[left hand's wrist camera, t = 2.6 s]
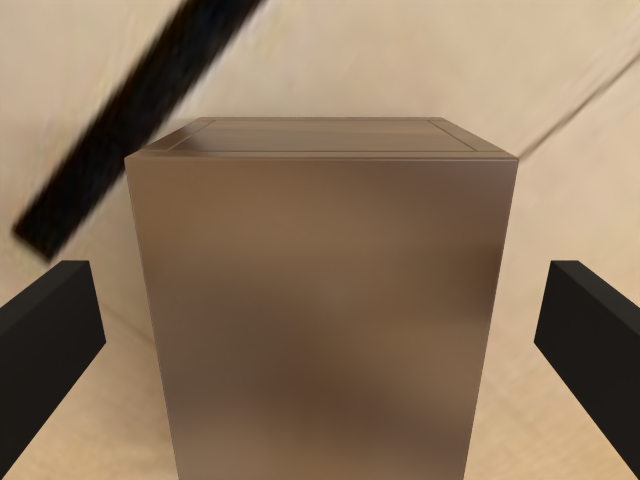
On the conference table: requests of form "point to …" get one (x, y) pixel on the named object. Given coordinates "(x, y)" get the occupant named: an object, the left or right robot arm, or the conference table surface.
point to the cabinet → (321, 292)
